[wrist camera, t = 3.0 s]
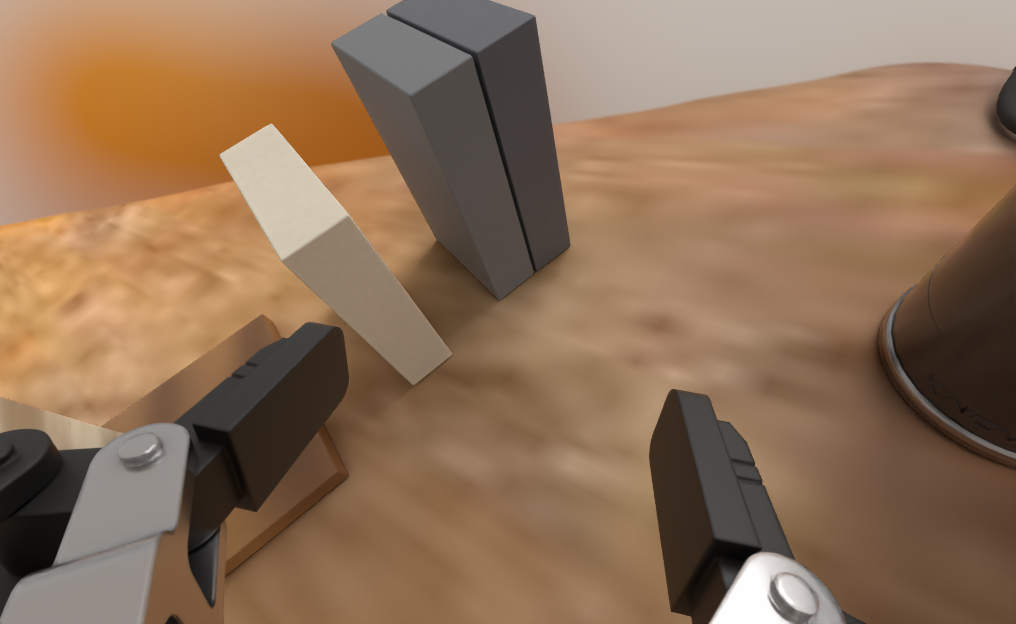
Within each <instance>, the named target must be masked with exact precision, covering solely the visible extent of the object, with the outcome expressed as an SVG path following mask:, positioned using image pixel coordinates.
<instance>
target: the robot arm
mask: <svg viewBox="0 0 1016 624" xmlns="http://www.w3.org/2000/svg"><path fill="white" fill-rule="evenodd" d="M997 114H998V116H999V118H1000V120H1001V122H1002V124H1003V125H1004V126H1005V127H1006V128H1007V129H1008V130H1010V131H1011V132H1013V133H1014V134H1016V66H1015V68H1014V69H1013V73H1012V74H1011V75H1010V77H1009V78H1008V80H1007V81H1006V83H1005V84H1004V86H1003V88H1002V90H1001V92H1000V94H999V97H998V101H997ZM878 340H879V351H880V356H881V360H882V363H883V366H884V368H885V370H886V373H887V375H888V377H889V378H890V380H891V382H892V384H893V385H894V386H895V388H896V389H897V391H898V392H899V393H900V395H901V396H902V397H903V398H904V400H905V401H906V402H907V403H908V404H909V405H910V406H911V407H912V408H913V409H914V410H915V411H916V412H917V413H918V414H919V415H920V416H921V417H922V418H924V419H925V420H926V421H927V422H928V423H930V424H931V425H932V426H933V427H935V428H936V429H938V430H939V431H940V432H942V433H943V434H945V435H946V436H948V437H949V438H951V439H953V440H954V441H956V442H958V443H959V444H961V445H963V446H965V447H967V448H968V449H970V450H972V451H974V452H976V453H979V454H981V455H983V456H985V457H987V458H990V459H992V460H995V461H998V462H1000V463H1003V464H1005V465H1009V466H1012V467H1015V468H1016V185H1015V186H1014V187H1013V188H1012V189H1011V190H1010V191H1009V192H1008V193H1007V194H1006V195H1005V196H1004V197H1003V198H1002V199H1001V200H1000V201H999V202H998V203H997V204H996V205H995V206H994V207H993V208H992V209H991V210H990V211H989V212H988V213H987V214H986V215H985V216H984V217H983V218H982V219H981V220H980V221H979V222H978V223H977V224H976V225H975V226H974V227H973V228H972V229H971V230H970V231H969V232H968V233H967V234H966V235H965V236H964V238H963V239H962V240H961V241H960V242H959V243H958V244H957V245H956V246H955V247H954V248H953V249H952V250H951V251H950V252H949V253H948V254H947V255H945V256H944V257H943V258H942V259H941V260H940V261H939V262H938V263H937V264H936V265H935V266H934V267H933V268H932V269H931V270H930V271H929V273H928V274H927V275H926V276H925V277H924V278H923V279H922V280H921V281H920V282H919V283H918V284H916V285H914V286H913V287H911V288H910V289H909V290H908V291H907V292H905V293H904V294H903V295H902V296H901V297H900V298H899V299H898V300H897V301H896V302H895V303H894V304H893V306H892V307H891V308H890V309H889V310H888V312H887V313H886V315H885V316H884V319H883V321H882V323H881V327H880V330H879V338H878ZM348 382H349V373H348V365H347V358H346V350H345V342H344V335H343V331H342V330H341V329H340V328H339V327H335V326H329V325H324V324H318V323H313V322H308V323H305V324H304V325H303V326H302V327H301V328H299V329H298V330H297V331H296V332H295V333H294V334H293V335H291V336H290V337H289V338H288V339H287V338H282V339H280V340H278V341H276V342H274V343H272V344H270V345H268V346H266V347H264V348H262V349H260V350H259V351H258V352H257V353H256V354H254V355H253V356H252V357H251V358H250V359H249V360H247V361H246V362H245V365H241V366H240V367H239V368H238V369H237V370H235V371H234V372H233V373H232V375H231V377H227V378H226V379H225V380H224V381H222V382H221V383H220V384H219V385H218V386H217V387H215V388H214V389H213V390H212V391H211V392H209V393H208V394H207V395H206V396H205V397H203V398H202V399H201V400H200V401H199V402H198V403H196V404H195V405H194V406H193V407H192V408H190V409H189V410H188V411H187V412H186V413H185V414H183V415H182V416H181V417H180V418H179V419H177V420H176V421H175V422H174V423H155V424H149V425H145V426H142V427H139V428H136V429H133V430H131V431H128V432H126V433H124V434H122V435H120V436H118V437H117V438H115V439H113V440H112V441H110V442H109V443H108V444H106V445H105V446H104V447H102V448H86V449H70V450H58V449H57V447H56V446H55V444H54V443H53V441H52V440H51V438H50V437H49V435H48V434H47V433H45V432H44V431H41V430H37V429H18V430H11V431H7V432H2V433H0V624H224V588H225V564H226V541H227V524H226V522H225V519H226V518H227V517H228V515H229V514H230V513H231V512H232V511H233V509H234V508H235V507H236V508H240V509H244V510H249V511H253V512H257V511H258V510H259V508H260V507H261V506H262V505H263V503H264V502H265V501H266V499H267V498H268V497H269V495H270V494H271V493H272V491H273V490H274V489H275V487H276V486H277V485H278V483H279V482H280V481H281V479H282V478H283V477H284V476H285V474H286V473H287V472H288V470H289V469H290V468H291V466H292V465H293V464H294V462H295V461H296V460H297V458H298V457H299V456H300V454H301V453H302V452H303V451H304V449H305V448H306V447H307V445H308V444H309V443H310V441H311V440H312V439H313V437H314V436H315V435H316V433H317V432H318V431H319V429H320V428H321V427H322V425H323V424H324V423H325V422H326V420H327V419H328V418H329V416H330V415H331V414H332V412H333V411H334V410H335V408H336V407H337V406H338V404H339V403H340V402H341V400H342V399H343V397H344V395H345V393H346V390H347V387H348ZM649 461H650V469H651V476H652V483H653V490H654V497H655V504H656V511H657V518H658V525H659V532H660V539H661V546H662V553H663V560H664V567H665V574H666V581H667V588H668V595H669V602H670V609H671V612H675V613H679V614H683V615H687V616H691V618H692V624H866V623H864V622H862V621H860V620H858V619H856V618H854V617H853V616H851V615H849V614H847V613H846V612H844V611H843V610H841V608H840V606H839V604H838V602H837V601H836V599H835V597H834V596H833V595H832V593H831V592H830V590H829V589H828V588H827V587H826V586H825V584H824V583H823V582H822V581H821V580H820V579H819V578H818V577H817V576H816V575H815V574H813V573H812V572H811V571H810V570H808V569H807V568H806V567H804V566H803V565H801V564H800V563H798V562H797V561H796V560H795V558H794V556H793V554H792V552H791V549H790V547H789V544H788V542H787V539H786V537H785V534H784V532H783V530H782V527H781V525H780V522H779V520H778V517H777V515H776V513H775V510H774V508H773V505H772V503H771V500H770V498H769V496H768V493H767V491H766V488H765V486H764V485H762V478H761V476H760V474H759V471H758V469H757V467H755V461H754V459H753V457H752V454H751V452H750V449H749V447H748V444H747V442H746V441H745V440H744V439H743V437H742V436H741V435H740V434H739V433H738V432H737V431H736V429H735V428H734V427H733V426H732V425H731V424H730V422H725V421H719V420H717V418H716V415H715V412H714V410H713V407H712V404H711V401H710V399H709V397H708V396H707V395H704V394H698V393H693V392H687V391H682V390H676V389H672V390H671V391H670V392H669V393H668V396H667V398H666V401H665V403H664V406H663V409H662V411H661V414H660V417H659V419H658V422H657V425H656V427H655V430H654V432H653V435H652V439H651V443H650V452H649Z"/></svg>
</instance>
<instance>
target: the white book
mask: <svg viewBox="0 0 1016 624" xmlns="http://www.w3.org/2000/svg"><path fill="white" fill-rule="evenodd" d="M219 156H220V158H221V160H222V161H223V163H224V165H225V166H226V168H227V170H228V172H229V173H230V175H231V177H232V178H233V180H234V182H235V184H236V185H237V187H238V189H239V190H240V192H241V194H242V195H243V197H244V199H245V201H246V202H247V204H248V206H249V207H250V209H251V211H252V213H253V214H254V216H255V218H256V219H257V221H258V223H259V225H260V226H261V228H262V230H263V231H264V233H265V235H266V236H267V238H268V240H269V242H270V243H271V245H272V247H273V248H274V250H275V252H276V254H277V255H278V257H279V259H280V260H281V262H282V263H283V264H284V265H285V266H287V267H288V268H289V269H290V270H291V271H292V272H293V273H294V274H295V275H296V276H297V277H298V278H299V279H300V280H301V281H302V282H304V283H305V284H306V285H307V286H308V287H309V288H310V289H311V290H312V291H313V292H314V293H315V294H316V295H317V296H318V297H319V298H321V299H322V300H323V301H324V302H325V303H326V304H327V305H328V306H329V307H330V308H331V309H332V310H333V311H334V312H335V313H336V314H338V315H339V316H340V317H341V318H342V319H343V320H344V321H345V322H346V323H347V324H348V325H349V326H350V327H351V328H352V329H353V330H355V331H356V332H357V333H358V334H359V335H360V336H361V337H362V338H363V339H364V340H365V341H366V342H367V343H368V344H369V345H370V346H372V347H373V348H374V349H375V350H376V351H377V352H378V353H379V354H380V355H381V356H382V357H383V358H384V359H385V360H386V361H387V362H389V363H390V364H391V365H392V366H393V367H394V368H395V369H396V370H397V371H398V372H399V373H400V374H401V375H402V376H403V377H405V378H406V379H407V380H408V381H409V382H410V383H411V384H412V385H415V384H416V383H418V382H419V381H420V380H421V379H423V378H424V377H425V376H426V375H428V374H429V373H430V372H432V371H433V370H434V369H435V368H437V367H438V366H439V365H440V364H442V363H443V362H444V361H445V360H447V359H448V358H449V357H450V356H452V352H451V351H450V350H449V348H448V347H447V346H446V344H445V343H444V342H443V340H442V339H441V338H440V336H439V335H438V334H437V332H436V331H435V329H434V328H433V327H432V325H431V324H430V323H429V321H428V320H427V319H426V317H425V316H424V315H423V313H422V312H421V311H420V309H419V308H418V307H417V305H416V304H415V303H414V301H413V300H412V298H411V297H410V296H409V294H408V293H407V292H406V290H405V289H404V288H403V286H402V285H401V284H400V282H399V281H398V280H397V278H396V277H395V276H394V274H393V273H392V272H391V270H390V269H389V268H388V266H387V265H386V263H385V262H384V261H383V259H382V258H381V257H380V255H379V254H378V253H377V251H376V250H375V249H374V247H373V246H372V245H371V243H370V242H369V241H368V239H367V238H366V237H365V235H364V234H363V232H362V231H361V230H360V228H359V227H358V226H357V224H356V223H355V222H354V220H353V219H352V218H351V216H350V215H349V214H348V213H347V211H346V210H345V209H344V208H343V207H342V206H341V204H340V203H339V202H338V201H337V200H336V198H335V197H334V196H333V195H332V194H331V193H330V191H329V190H328V189H327V188H326V187H325V185H324V184H323V183H322V182H321V181H320V180H319V178H318V177H317V176H316V175H315V174H314V173H313V171H312V170H311V169H310V168H309V167H308V165H307V164H306V163H305V162H304V161H303V160H302V159H301V157H300V156H299V155H298V154H297V152H296V151H295V150H294V149H293V148H292V147H291V146H290V144H289V143H288V142H287V141H286V139H284V137H283V136H282V135H281V134H280V132H279V131H278V130H277V129H276V128H275V127H274V125H273V124H269V125H267V126H266V127H264V128H262V129H261V130H259V131H257V132H256V133H254V134H253V135H251V136H249V137H248V138H246V139H244V140H243V141H241V142H239V143H238V144H236V145H235V146H233V147H231V148H229V149H228V150H226V151H225V152H223V153H221V154H220V155H219Z"/></svg>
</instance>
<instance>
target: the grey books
mask: <svg viewBox="0 0 1016 624" xmlns="http://www.w3.org/2000/svg"><path fill="white" fill-rule="evenodd" d="M386 12H387V15H388V16H387V15H384V14H383V13H381V14H379V15H377V16H376V17H374V18H372V19H371V20H369V21H367V22H365V23H364V24H362V25H360V26H359V27H357V28H355V29H354V30H352V31H350V32H348V33H347V34H345V35H343V36H342V37H340V38H338V39H336V40H335V41H333V42H332V43H331V45H332V47H333V49H334V51H335V53H336V55H337V56H338V58H339V60H340V62H341V64H342V66H343V68H344V69H345V71H346V73H347V75H348V77H349V79H350V80H351V82H352V84H353V86H354V88H355V90H356V92H357V93H358V95H359V97H360V99H361V101H362V103H363V104H364V106H365V108H366V110H367V112H368V114H369V115H370V117H371V119H372V121H373V123H374V125H375V127H376V128H377V130H378V132H379V134H380V136H381V138H382V140H383V141H384V143H385V145H386V147H387V149H388V151H389V152H390V154H391V156H392V158H393V160H394V162H395V164H396V165H397V167H398V169H399V171H400V173H401V175H402V176H403V178H404V180H405V182H406V184H407V186H408V188H409V189H410V191H411V193H412V195H413V197H414V199H415V201H416V202H417V204H418V206H419V208H420V210H421V212H422V213H423V215H424V217H425V219H426V221H427V223H428V225H429V226H430V228H431V230H432V232H433V234H434V236H435V237H436V239H437V240H438V241H439V242H440V243H441V244H442V245H443V246H444V247H445V248H446V249H447V250H448V251H449V252H450V253H451V254H452V255H453V256H454V257H455V258H456V259H457V260H458V261H459V262H460V263H461V264H462V265H463V266H464V267H465V268H466V269H467V270H468V271H469V272H470V273H471V274H472V275H473V276H474V277H475V278H476V279H477V280H478V281H479V282H480V283H481V284H482V285H483V286H484V287H486V288H487V289H488V290H489V291H490V292H491V293H492V294H493V295H494V296H495V297H496V298H497V299H498V300H499V301H500V300H501V299H503V298H504V297H505V296H506V295H508V294H509V293H510V292H511V291H513V290H514V289H515V288H517V287H518V286H519V285H520V284H522V283H523V282H524V281H525V280H527V279H528V278H529V277H531V276H532V275H533V274H534V271H533V269H535V270H536V271H538V270H540V269H541V268H542V267H544V266H545V265H546V264H547V263H549V262H550V261H551V260H552V259H554V258H555V257H556V256H558V255H559V254H560V253H561V252H563V251H564V250H565V249H566V248H568V247H569V246H570V239H569V232H568V226H567V219H566V213H565V206H564V200H563V193H562V187H561V180H560V174H559V167H558V161H557V154H556V148H555V141H554V135H553V128H552V122H551V115H550V109H549V102H548V96H547V89H546V83H545V76H544V70H543V64H542V57H541V50H540V44H539V37H538V31H537V24H536V17H535V16H534V15H532V14H529V13H526V12H523V11H520V10H517V9H514V8H511V7H508V6H505V5H502V4H499V3H496V2H493V1H490V0H403V1H401V2H399V3H398V4H396V5H394V6H393V7H391V8H389V9H387V10H386Z"/></svg>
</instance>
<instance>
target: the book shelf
mask: <svg viewBox="0 0 1016 624" xmlns="http://www.w3.org/2000/svg"><path fill="white" fill-rule="evenodd" d="M280 339H281V337H280V335H279V333H278V331H277V329H276V327H275V325H274V323H273V322H272V321H271V320H270V319H268V318H267V317H266V316H264V315H263V314H262V315H260V316H259V317H257V318H256V319H254V320H253V321H252V322H250V323H249V324H247V325H246V326H244V327H243V328H242V329H240V330H239V331H237V332H236V333H234V334H233V335H232V336H230V337H229V338H227V339H226V340H224V341H223V342H222V343H220V344H219V345H217V346H216V347H214V348H213V349H212V350H210V351H209V352H207V353H206V354H204V355H203V356H201V357H200V358H199V359H197V360H196V361H194V362H193V363H191V364H190V365H189V366H187V367H186V368H184V369H183V370H181V371H180V372H179V373H177V374H176V375H174V376H173V377H171V378H170V379H169V380H167V381H166V382H164V383H163V384H161V385H160V386H159V387H157V388H156V389H154V390H153V391H151V392H150V393H149V394H147V395H146V396H144V397H143V398H141V399H140V400H139V401H137V402H136V403H134V404H133V405H131V406H130V407H129V408H127V409H126V410H124V411H123V412H121V413H120V414H119V415H117V416H116V417H114V418H113V419H111V420H110V421H108V422H107V423H106V424H104V425H103V426H101V427H100V426H96V425H93V424H89V423H86V422H83V421H79V420H76V419H73V418H69V417H66V416H63V415H59V414H56V413H53V412H49V411H46V410H43V409H39V408H36V407H32V406H29V405H26V404H22V403H19V402H16V401H12V400H9V399H6V398H2V397H0V433H2V432H7V431H11V430H18V429H37V430H41V431H44V432H45V433H47V434H48V435H49V437H50V438H51V440H52V441H53V443H54V444H55V446H56V447H57V449H58V450H70V449H86V448H102V447H104V446H105V445H106V444H108V443H109V442H110V441H112V440H113V439H115V438H117V437H118V436H120V435H122V434H124V433H126V432H128V431H131V430H133V429H136V428H139V427H142V426H145V425H149V424H155V423H174V422H175V421H176V420H177V419H179V418H180V417H181V416H182V415H183V414H185V413H186V412H187V411H188V410H189V409H190V408H192V407H193V406H194V405H195V404H196V403H198V402H199V401H200V400H201V399H202V398H203V397H205V396H206V395H207V394H208V393H209V392H211V391H212V390H213V389H214V388H215V387H217V386H218V385H219V384H220V383H221V382H222V381H224V380H225V379H226V378H227V377H231V375H232V373H233V372H234V371H235V370H237V369H238V368H239V367H240V366H241V365H245V362H246V361H247V360H249V359H250V358H251V357H252V356H253V355H254V354H256V353H257V352H258V351H259V350H260V349H262V348H264V347H266V346H268V345H270V344H272V343H274V342H276V341H278V340H280ZM347 477H348V473H347V471H346V469H345V467H344V465H343V463H342V461H341V459H340V457H339V455H338V453H337V451H336V449H335V447H334V445H333V443H332V440H331V438H330V436H329V434H328V432H327V430H326V428H325V426H324V424H323V425H322V427H321V428H320V429H319V431H318V432H317V433H316V435H315V436H314V437H313V439H312V440H311V441H310V443H309V444H308V445H307V447H306V448H305V449H304V451H303V452H302V453H301V454H300V456H299V457H298V458H297V460H296V461H295V462H294V464H293V465H292V466H291V468H290V469H289V470H288V472H287V473H286V474H285V476H284V477H283V478H282V479H281V481H280V482H279V483H278V485H277V486H276V487H275V489H274V490H273V491H272V493H271V494H270V495H269V497H268V498H267V499H266V501H265V502H264V503H263V505H262V506H261V507H260V508H259V510H258V511H257V512H253V511H249V510H244V509H240V508H236V507H235V508H234V509H233V511H232V512H231V513H230V514H229V515H228V517H227V518H226V519H225V522H226V524H227V541H226V564H225V576H227V575H228V574H229V573H230V572H231V571H233V570H234V569H235V568H236V567H238V566H239V565H240V564H241V563H243V562H244V561H245V560H246V559H247V558H249V557H250V556H251V555H252V554H254V553H255V552H256V551H257V550H258V549H260V548H261V547H262V546H263V545H265V544H266V543H267V542H268V541H270V540H271V539H272V538H273V537H274V536H276V535H277V534H278V533H279V532H281V531H282V530H283V529H284V528H285V527H287V526H288V525H289V524H290V523H292V522H293V521H294V520H295V519H297V518H298V517H299V516H300V515H301V514H303V513H304V512H305V511H306V510H308V509H309V508H310V507H311V506H313V505H314V504H315V503H316V502H317V501H319V500H320V499H321V498H322V497H324V496H325V495H326V494H327V493H328V492H330V491H331V490H332V489H333V488H335V487H336V486H337V485H338V484H340V483H341V482H342V481H343V480H344V479H346V478H347Z"/></svg>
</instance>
